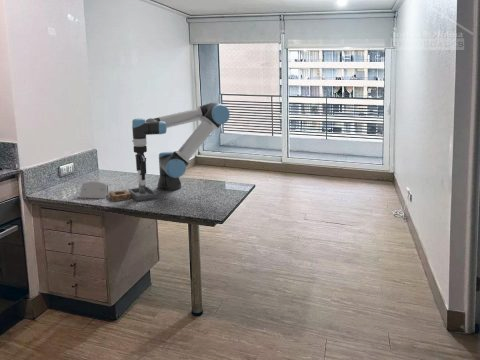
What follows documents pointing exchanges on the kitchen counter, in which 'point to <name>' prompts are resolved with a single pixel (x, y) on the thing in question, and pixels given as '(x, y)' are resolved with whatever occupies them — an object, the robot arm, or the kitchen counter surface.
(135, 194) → the tray
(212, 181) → the kitchen counter surface
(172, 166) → the robot arm
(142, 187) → the pin
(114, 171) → the kitchen counter surface
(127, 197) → the holder
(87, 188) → the grey upright slab
